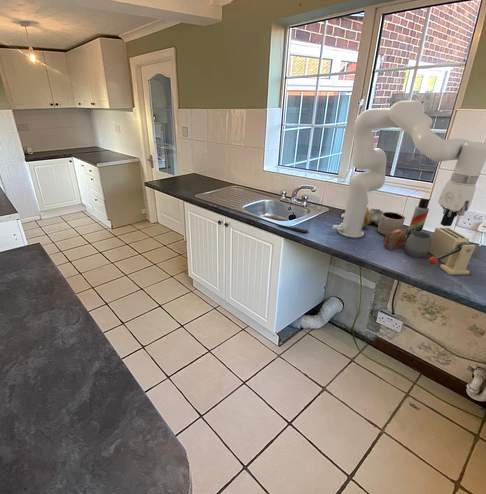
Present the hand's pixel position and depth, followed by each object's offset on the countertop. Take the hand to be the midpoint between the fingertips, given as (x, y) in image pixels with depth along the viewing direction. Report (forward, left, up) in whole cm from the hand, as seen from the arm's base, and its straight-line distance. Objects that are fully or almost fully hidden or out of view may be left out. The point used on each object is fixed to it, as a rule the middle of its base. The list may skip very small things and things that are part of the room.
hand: (445, 225), depth 118 cm
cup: (+3, +14, -21) cm, 25 cm away
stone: (-7, +50, -14) cm, 53 cm away
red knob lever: (+6, 0, -14) cm, 15 cm away
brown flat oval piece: (-3, +22, -21) cm, 30 cm away
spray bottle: (+14, +34, -21) cm, 42 cm away
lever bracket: (+10, 0, -21) cm, 23 cm away
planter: (+4, +37, -21) cm, 43 cm away
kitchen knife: (-7, +65, -20) cm, 68 cm away
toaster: (+13, +11, -21) cm, 27 cm away
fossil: (+3, +60, -23) cm, 64 cm away
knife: (-45, +45, -20) cm, 67 cm away
